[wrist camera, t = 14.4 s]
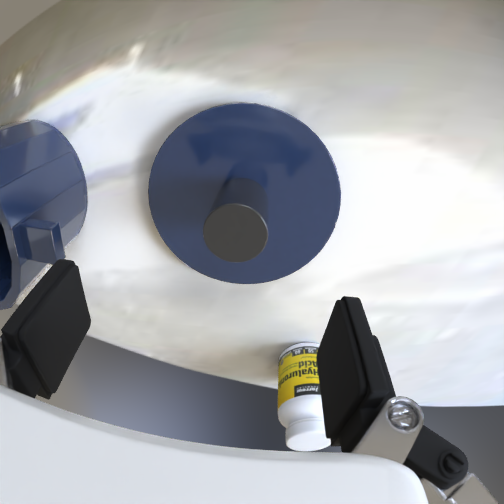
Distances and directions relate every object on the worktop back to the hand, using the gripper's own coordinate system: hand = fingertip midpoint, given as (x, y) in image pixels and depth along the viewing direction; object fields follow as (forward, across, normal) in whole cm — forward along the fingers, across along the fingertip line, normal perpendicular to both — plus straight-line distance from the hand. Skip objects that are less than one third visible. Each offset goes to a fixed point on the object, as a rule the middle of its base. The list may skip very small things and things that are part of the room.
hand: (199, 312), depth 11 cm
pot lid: (+13, -1, +1) cm, 13 cm away
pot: (+14, +18, +2) cm, 23 cm away
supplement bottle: (+13, -9, +17) cm, 23 cm away
